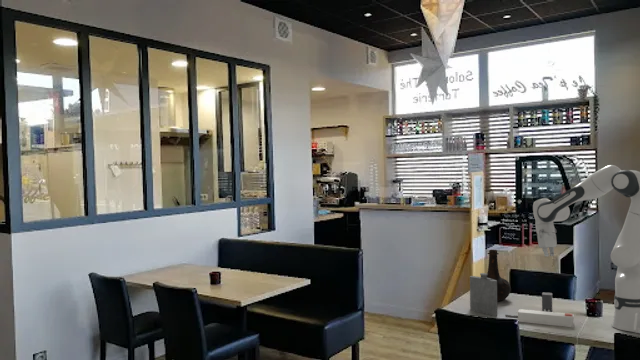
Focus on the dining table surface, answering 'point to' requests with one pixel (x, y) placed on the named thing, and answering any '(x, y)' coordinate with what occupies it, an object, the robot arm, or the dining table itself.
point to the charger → (547, 302)
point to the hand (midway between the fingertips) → (549, 256)
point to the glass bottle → (497, 276)
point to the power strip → (544, 317)
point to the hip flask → (483, 294)
